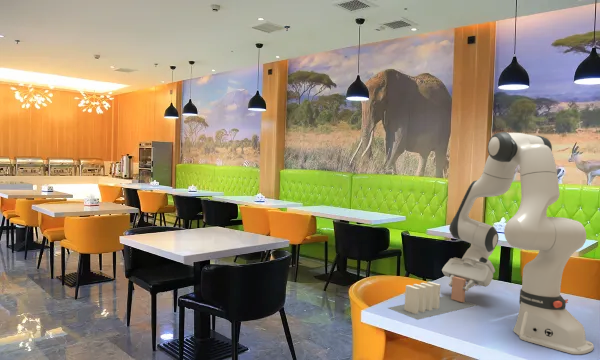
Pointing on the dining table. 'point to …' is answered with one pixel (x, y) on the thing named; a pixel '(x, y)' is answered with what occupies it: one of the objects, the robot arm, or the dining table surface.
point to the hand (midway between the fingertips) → (457, 287)
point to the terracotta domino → (458, 289)
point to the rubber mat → (444, 307)
